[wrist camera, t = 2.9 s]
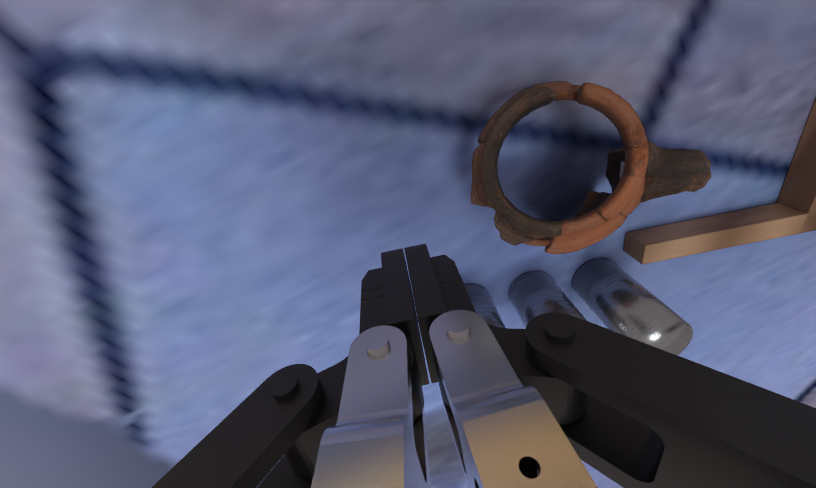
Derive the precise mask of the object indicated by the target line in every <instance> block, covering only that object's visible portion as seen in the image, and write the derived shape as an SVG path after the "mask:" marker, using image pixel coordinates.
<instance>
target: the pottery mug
mask: <svg viewBox="0 0 816 488" xmlns="http://www.w3.org/2000/svg"><path fill="white" fill-rule="evenodd" d="M558 100H573V101H577V102H578V103H579V104H583V105H586V106H589V107H592V108H594V109H596V110H598V111H599V112H601V113H602V114H604V115H605V116H606V117H607V118H608V119H609V120H610V121H611V122H612V123H613V124H614V125H615V127H616V128H617V130H618V132H619V134H620V136H621V138H622V141H623V147H622V148H620V149H619V150H612V151H610V152H609V153H608V163H607V169H606V177H607V179H608V180H609V183H610V185H611V187H612V193H611V194H610V193H605V192H601V193H599V192H595V191H589V192H588V195H587V197H586V200H585V202H584V204H583V205H582V207H581V209H580V210H579V211H578V213H577V214H576V215H575V216H574V217H573V218H572V219H568V220H561V221H557V222H556V221H545V220H540V219H537V218H533V217H531V216H529V215H527V214H525V213H523V212H522V211H520V210H519V209H517V208H516V207H515V206H514V205H513V204H512V203H511V202H510V201H509V200H508V199H507V197H505V196H504V193H503V191H502V189H501V186H500V183H499V179H498V174H497V162H498V156H499V152H500V148H501V146H502V144H503V141H504V139H505V138H506V136H507V135H508V133H509V132H510V130H511V129H512V128H513V127H514V125H515V124H516V123H517V122H518V121H519V120H520V119H522V118H523V117H524V116H526V115H528V114H529V113H530V112H532V111H534V110H536V109H537V108H540V107H542V106H545V105H547V104H549V103H551V102H553V101H558ZM478 142H479V144H480V145H479V146H478V147H477V148H476V149H475V151H474V153H473V160H472V191H471V203H472V204H477V205H480V206H486V207H491V208H493V209H495V211H496V213H495V217H494V221H495V226H496V228H497V229H498V230H499V231H500V237H501V239H502V240H504V241H506V242H508V243H510V244H512V245H518V244H520V243H524V244H528V245H533V246H546V248H545V252H547V253H551V254H564V253H569V252H574V251H578V250H580V249H583V248H585V247H588V246H590V245H592V244H594V243H596V242H598V241H600V240H602V239H604V238H605V237H607V236H608V235H610V234H611V233H612V232H614V231H615V230H616V229H617V228H619V227H620V226H621V225H622V224H623V223H624V221H625V219H626V218H627V215H629V214H630V213H632V212H633V211H634V209H635V208H636V207H637V206H638V205H639V204H640V203H641V202H645V201H647V200H650V199H654V198H658V197H662V196H667V195H672V194H678V193H681V192H683V191H692V192H695V191H697V190H698V189H701V188H703V187H704V186H705V185H706V183H707V182H708V180H709V179H710V178H711V172H710V165H711V163H710V161H709V159H708V158H707V157H706V155H705V154H704V153H703V152H702V151H699V150H689V149H666V148H661V147H658V146H656V145H654V144H653V143H652V142H651V141H649V140H647V136H646V134H645V129H644V127H643V126H642V123H641V121H640V119H639V117H638V115H637V114H636V112H635V111H634V109H633V108H632V106H631V105H630V104H629V103H627V102H626V101H625V100H624V99H623V98H622V97H621V96H619V95H618V94H616V93H614V92H613V91H612V90H610V89H608V88H605V87H602V86H599V85H595V84H591V83H584V84H582V85H581V86H580V85H572V84H570V83H569V82H565V81H560V82H550V83H544V84H540V85H536V86H534V87H533V88H532V89H529V88H527V89H524V90H522V91H520V92H518V93H517V94H516V95H515V96H513V97H512V98H511V99H509V100H508V101H507V102H506V103H505V104H504V105H503V106H501V107H500V108H499V109H498V110H497V111H496V112H495V114H494V115H493V116H492V117H491V118H490V120H489V121H488V122H487V124H486V126H485V127H484V129H483V130H482V132H481V133H480V135H479V137H478Z"/></svg>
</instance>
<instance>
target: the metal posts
mask: <svg viewBox="0 0 816 488" xmlns="http://www.w3.org/2000/svg"><path fill="white" fill-rule="evenodd" d="M464 286H465V288H466V290H467V293H468V295H469V297H470V300H471V302H472V304H473V307H474V309H475V311H476V313H477V314H478V315H480V316H481V317H482V318H483V319H484V320H485V321H486V323H488V324H490V325H493V326H496V327H500V328H505V326H504V324H503V322H502V320H501V318H500V316H499V314H498V312H497V310H496V308H495V306H494V304H493V302H492V300H491V298H490V296H489V293H488V292H487V290H486V289H485V288H483V287H482V286H480V285H477V284H464ZM572 286H573V289H574V290H575V291H576V293H577V294H578V295H579V296H580V297H581V298H582V299H583V300H584V302H585V303H586V304H587V305H588V306H589V307H590V308H591V309H592V311H593V312H594V313H595V314H596V315H597V316H598V317H599V318H600V320H601V321H602V322H603V323H604V324H605V325H606V326H607V327H608V329H609V330H612V331H614V332H617V333H619V334H622V335H625V336H627V337H630V338H632V339H635V340H638V341H640V342H643V343H646V344H648V345H651V346H653V347H656V348H659V349H661V350H664V351H667V352H669V353H672V354H674V355H678V354H680V353H681V352H682V351H683V350H684V349H685V348H686V347H687V346H688V344H689V343H690V341H691V339H692V335H693V331H692V327H691V326H690V325H689V324H688V323H687V322H686V321H684V320H683V319H682V318H681V317H680V316H678V315H677V314H676V313H675V312H673V311H672V310H671V309H670V308H669V307H667V306H666V305H665V304H664V303H663V302H661V301H660V300H659V299H658V298H656V297H655V296H654V295H653V294H652V293H650V292H649V291H648V290H647V289H646V288H644V287H643V286H642V285H641V284H639V283H638V282H637V281H636V280H635V279H633V278H632V277H631V276H630V275H629V274H627V273H626V272H625V271H624V270H622V269H621V268H620V267H619V266H618V265H616V264H615V263H614V262H613V261H611V260H610V259H607V258H596V259H592V260H590V261H588V262H586V263H584V264H583V265H582V266H581V267H580V268H579V269H578V270H577V271H576V272H575V274H574V276H573V279H572ZM509 298H510V301H511V302H512V304H513V306H514V307H515V309H516V311H517V313H518V314H519V316H520V318H521V320H522V321H523V323H524V325H525V327H526V326H527V324H528V323H529V321H530V320H531V319H532V318H534V317H536V316H538V315H540V314H544V313H550V312H557V313H565V314H569V315H572V316H575V317H577V318H580V319H583V320H585V321H587V320H586V319H585V318H584V317H583V316H582V314H581V313H580V312H579V311H578V310H577V308H576V307H575V306H574V305H573V304H572V302H571V301H570V300H569V299H568V298H567V296H566V295H565V294H564V293H563V291H562V290H561V289H560V288H559V287H558V285H557V284H556V283H555V282H554V281H553V279H552V278H551V277H550V276H549V275H548V274H547V273H545V272H542V271H530V272H527V273H524V274H522V275H520V276H519V277H518V278H516V279H515V280H514V282H513V283H512V284H511V286H510V289H509Z"/></svg>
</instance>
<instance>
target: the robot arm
mask: <svg viewBox="0 0 816 488" xmlns="http://www.w3.org/2000/svg"><path fill="white" fill-rule="evenodd" d="M405 254H406V259H407V265H408V270H409V275H410V280H409V275H408V271H407V266H406V261H405V257H404V252H403V248H402V249H397V250H392V251H388V252H383V253H381V260H382V268H378V269H374V270H369V271H368V272H367V274H366V275H365V277H364V278H363V280H362V287H361V292H362V293H361V310H360V334H359V336H357V338H356V339H355V340H354V341H353V343H352V344H351V346H350V350H349V355H348V357H346V358H345V359H344V360H342V361H341V362H339V363H338V364H336V365H334V366H332V367H330V368H328V369H325V370H323V371H321V372H319V373H316V371H315V370H314V369H313V368H312V367H311V366H309V365H306V364H294V365H290V366H287V367H284V368H282V369H280V370H278V371H277V372H275V373H274V374H272V375H271V376H270V377H269V378H267V379H266V380H265V381H264V382H263V383H262V384H261V385H260V386H259V387H258V388H257V389H256V390H255V391H254V392H253V393H252V394H250V395H249V396H248V397H247V398H246V399H245V400H244V401H243V402H242V403H241V404H240V405H239V406H238V407H237V408H236V409H235V410H233V411H232V412H231V413H230V414H229V415H228V416H227V417H226V418H225V419H224V420H223V421H222V422H221V423H220V424H219V425H218V426H217V427H215V428H214V429H213V430H212V431H211V432H210V433H209V434H208V435H207V436H206V437H205V438H204V439H203V440H202V441H201V442H200V443H198V444H197V445H196V446H195V447H194V448H193V449H192V450H191V451H190V452H189V453H188V454H187V455H186V456H185V457H184V458H183V459H181V460H180V461H179V462H178V463H177V464H176V465H175V466H174V467H173V468H172V469H171V470H170V471H169V472H168V473H167V474H166V475H164V476H163V477H162V478H161V479H160V480H159V481H158V482H157V483H156V484H155V485H154V486H153V487H152V488H256V487H257V486H258V485H259V486H258V487H257V488H430V479H429V466H428V452H427V439H426V425H425V413H424V408H423V407H424V398H423V391H422V385H426V384H429V380H428V374H427V369H426V364H425V358H424V353H423V347H422V342H421V337H422V341H423V346H424V350H425V355H426V360H427V364H428V369H429V373H430V378H431V383H435V382H439V386H440V390H441V395H442V399H443V404H444V409H445V413H446V416H447V420H448V423H449V426H450V430H451V433H452V436H453V439H454V443H455V446H456V449H457V453H458V456H459V459H460V463H461V466H462V469H463V473H464V476H465V479H466V483H467V486H468V488H598V487H597V486H596V484H595V482H594V481H593V479H592V478H591V476H590V474H589V473H588V471H587V469H586V468H585V466H584V465H583V463H582V461H581V460H583V461H584V462H586V463H587V464H589V465H590V466H592V467H593V468H595V469H596V470H598V471H599V472H601V473H602V474H604V475H605V476H607V477H608V478H610V479H611V480H613V481H615V482H616V483H618V484H619V485H621V486H622V487H624V488H816V408H813V407H811V406H808V405H806V404H803V403H800V402H798V401H795V400H792V399H790V398H787V397H785V396H782V395H779V394H777V393H774V392H772V391H769V390H766V389H764V388H761V387H758V386H756V385H753V384H751V383H748V382H745V381H743V380H740V379H737V378H735V377H732V376H730V375H727V374H724V373H722V372H719V371H716V370H714V369H711V368H709V367H706V366H703V365H701V364H698V363H695V362H693V361H690V360H688V359H685V358H682V357H680V356H677V355H674V354H672V353H669V352H667V351H664V350H661V349H659V348H656V347H653V346H651V345H648V344H646V343H643V342H640V341H638V340H635V339H632V338H630V337H627V336H625V335H622V334H619V333H617V332H614V331H612V330H609V329H606V328H604V327H601V326H598V325H596V324H593V323H591V322H588V321H585V320H583V319H580V318H577V317H575V316H572V315H569V314H565V313H557V312H550V313H544V314H540V315H538V316H536V317H534V318H532V319H531V320H530V321H529V323H528V324H527V326H526V329H507V328H500V327H496V326H493V325H490V324H488V323H486V321H485V320H484V319H483V318H482V317H481V316H480V315H478V314H477V313H476V311H475V309H474V307H473V304H472V302H471V300H470V297H469V295H468V293H467V290H466V288H465V286H464V283H463V281H462V279H461V276H460V274H459V272H458V269H457V267H456V265H455V262H454V261H453V260H451V259H450V258H448V257H447V256H446V255H441V256H436V257H431V258H430V256H429V252H428V249H427V246H426V244H421V245H416V246H411V247H407V248H405ZM410 281H411V284H410ZM411 286H412V289H411ZM412 291H413V294H412ZM413 297H414V299H413ZM414 302H415V304H414ZM415 307H416V309H415ZM416 313H417V315H416ZM417 318H418V320H417ZM418 323H419V326H418ZM419 327H420V331H419ZM420 332H421V336H420ZM283 455H284V456H283ZM282 456H283V457H282ZM280 459H281V460H280ZM580 459H581V460H580ZM279 460H280V461H279ZM278 461H279V462H278ZM277 462H278V463H277ZM274 466H275V467H274ZM273 467H274V468H273ZM272 468H273V469H272ZM271 469H272V470H271ZM269 472H270V473H269ZM268 473H269V474H268ZM267 474H268V475H267ZM266 475H267V476H266ZM264 478H265V479H264ZM263 479H264V480H263ZM262 480H263V481H262ZM261 481H262V482H261Z"/></svg>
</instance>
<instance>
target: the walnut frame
mask: <svg viewBox="0 0 816 488" xmlns="http://www.w3.org/2000/svg"><path fill="white" fill-rule="evenodd" d="M814 230H816V99H815V102H814V105H813V107H812V110H811V113H810V115H809V118H808V121H807V123H806V126H805V129H804V131H803V134H802V136H801V139H800V142H799V144H798V147H797V150H796V152H795V155H794V158H793V160H792V163H791V166H790V168H789V171H788V174H787V176H786V179H785V182H784V184H783V187H782V190H781V192H780V195H779V197H778V200H777V203H773V204H768V205H763V206H758V207H753V208H748V209H743V210H738V211H733V212H728V213H723V214H718V215H713V216H708V217H703V218H698V219H692V220H687V221H682V222H677V223H672V224H667V225H662V226H657V227H652V228H647V229H642V230H637V231H632V232H627V233H626V236H625V242H624V249H623V250H624V251H625V252H626V253H628V254H629V255H630V256H632V257H633V258H634V259H636V260H637V261H638V262H640V263H641V264H646V263H651V262H656V261H661V260H667V259H672V258H677V257H682V256H687V255H692V254H697V253H702V252H707V251H712V250H717V249H722V248H728V247H733V246H738V245H743V244H748V243H753V242H758V241H763V240H768V239H773V238H778V237H783V236H789V235H794V234H799V233H804V232H809V231H814Z"/></svg>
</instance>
